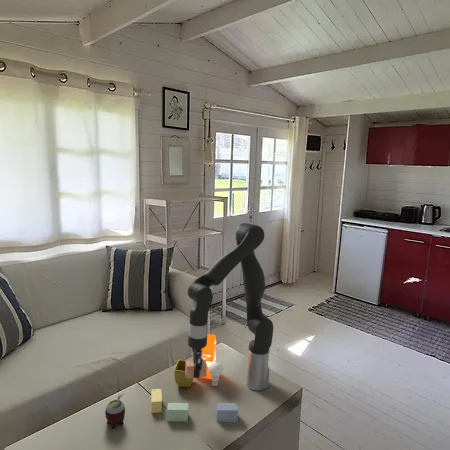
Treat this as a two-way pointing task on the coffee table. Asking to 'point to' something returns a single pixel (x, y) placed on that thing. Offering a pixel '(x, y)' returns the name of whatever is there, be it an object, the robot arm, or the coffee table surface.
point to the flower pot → (182, 374)
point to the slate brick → (227, 412)
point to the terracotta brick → (190, 369)
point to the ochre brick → (156, 401)
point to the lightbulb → (215, 372)
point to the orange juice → (209, 352)
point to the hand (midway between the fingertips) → (195, 373)
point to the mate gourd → (115, 412)
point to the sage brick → (177, 411)
